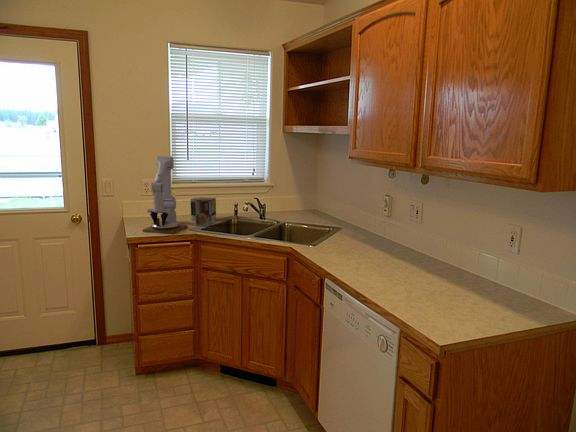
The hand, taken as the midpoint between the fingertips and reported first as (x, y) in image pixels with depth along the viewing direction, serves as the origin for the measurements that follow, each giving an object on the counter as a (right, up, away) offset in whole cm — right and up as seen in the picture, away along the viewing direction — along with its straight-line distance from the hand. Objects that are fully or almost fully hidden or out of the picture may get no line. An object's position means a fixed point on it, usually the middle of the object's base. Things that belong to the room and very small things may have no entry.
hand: (159, 224), depth 270 cm
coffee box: (+22, -1, +22) cm, 31 cm away
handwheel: (+2, -1, +7) cm, 7 cm away
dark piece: (+19, +3, +41) cm, 45 cm away
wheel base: (+2, -3, +7) cm, 8 cm away
